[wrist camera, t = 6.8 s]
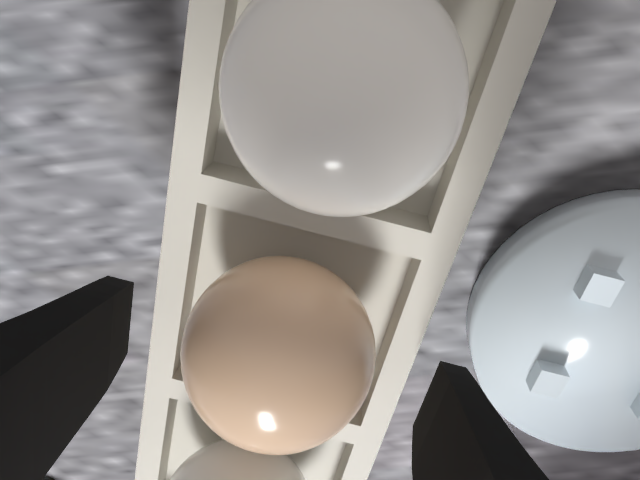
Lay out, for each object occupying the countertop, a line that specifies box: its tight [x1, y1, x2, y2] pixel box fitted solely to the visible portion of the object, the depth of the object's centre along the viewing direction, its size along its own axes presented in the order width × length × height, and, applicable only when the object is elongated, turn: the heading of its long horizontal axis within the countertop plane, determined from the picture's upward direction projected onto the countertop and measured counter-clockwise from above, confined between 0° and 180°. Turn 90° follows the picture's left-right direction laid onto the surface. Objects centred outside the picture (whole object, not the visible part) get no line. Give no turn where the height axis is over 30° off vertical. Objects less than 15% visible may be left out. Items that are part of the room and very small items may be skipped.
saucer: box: [466, 189, 640, 452], centre depth 15 cm, size 8×8×2 cm
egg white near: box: [219, 0, 469, 217], centre depth 9 cm, size 4×4×4 cm
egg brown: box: [180, 256, 376, 455], centre depth 12 cm, size 4×4×4 cm
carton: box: [135, 0, 557, 480], centre depth 14 cm, size 7×19×3 cm, turn 167°
